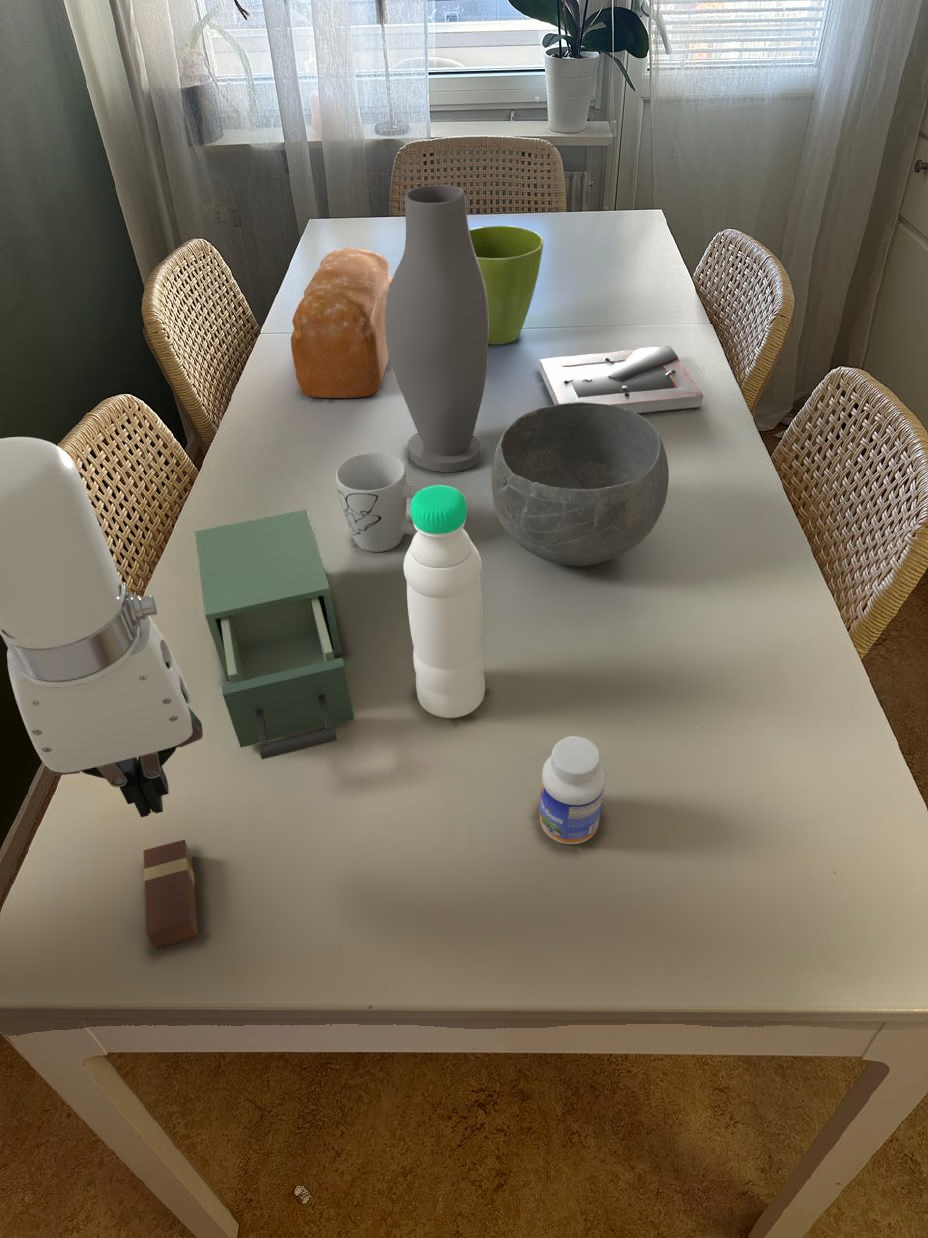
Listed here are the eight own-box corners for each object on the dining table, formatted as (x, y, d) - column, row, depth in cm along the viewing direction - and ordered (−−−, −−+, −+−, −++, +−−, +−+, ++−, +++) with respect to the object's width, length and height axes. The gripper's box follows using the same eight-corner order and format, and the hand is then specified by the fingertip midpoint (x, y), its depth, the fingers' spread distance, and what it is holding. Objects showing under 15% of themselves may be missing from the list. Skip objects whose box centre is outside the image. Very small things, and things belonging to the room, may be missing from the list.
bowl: (539, 480, 118) (542, 379, 108) (682, 522, 110) (700, 417, 100) (462, 564, 106) (457, 459, 96) (617, 619, 98) (630, 510, 87)
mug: (442, 525, 112) (438, 459, 105) (423, 566, 106) (417, 498, 99) (359, 513, 114) (350, 448, 107) (335, 553, 108) (324, 486, 101)
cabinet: (342, 654, 95) (329, 588, 89) (226, 680, 93) (205, 615, 86) (319, 573, 105) (307, 508, 99) (215, 595, 103) (195, 531, 97)
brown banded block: (154, 949, 71) (145, 934, 69) (151, 866, 77) (142, 850, 75) (198, 936, 72) (191, 921, 70) (192, 855, 77) (184, 839, 75)
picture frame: (668, 359, 143) (539, 371, 141) (670, 345, 141) (539, 357, 139) (701, 409, 131) (560, 423, 129) (704, 394, 129) (561, 408, 127)
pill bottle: (529, 806, 80) (531, 739, 73) (582, 788, 81) (589, 721, 74) (555, 855, 76) (559, 789, 69) (610, 835, 77) (619, 768, 71)
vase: (386, 470, 121) (356, 206, 98) (419, 424, 130) (399, 172, 106) (475, 485, 118) (467, 215, 94) (503, 436, 127) (502, 179, 103)
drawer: (366, 762, 83) (356, 708, 78) (246, 793, 81) (228, 740, 76) (330, 631, 97) (320, 578, 91) (227, 655, 94) (210, 601, 89)
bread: (294, 399, 137) (276, 302, 126) (326, 327, 156) (312, 237, 145) (380, 400, 136) (369, 302, 125) (402, 327, 155) (394, 237, 144)
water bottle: (497, 686, 91) (495, 487, 74) (461, 731, 87) (450, 531, 69) (441, 662, 94) (426, 465, 77) (403, 704, 89) (379, 506, 72)
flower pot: (502, 309, 159) (501, 218, 148) (559, 335, 150) (562, 240, 139) (438, 334, 152) (432, 241, 141) (494, 363, 144) (492, 266, 133)
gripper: (188, 567, 59) (242, 739, 71) (-49, 617, 56) (52, 788, 68) (197, 640, 54) (254, 812, 66) (-63, 700, 50) (48, 868, 63)
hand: (151, 799), depth 67 cm, fingers closed
